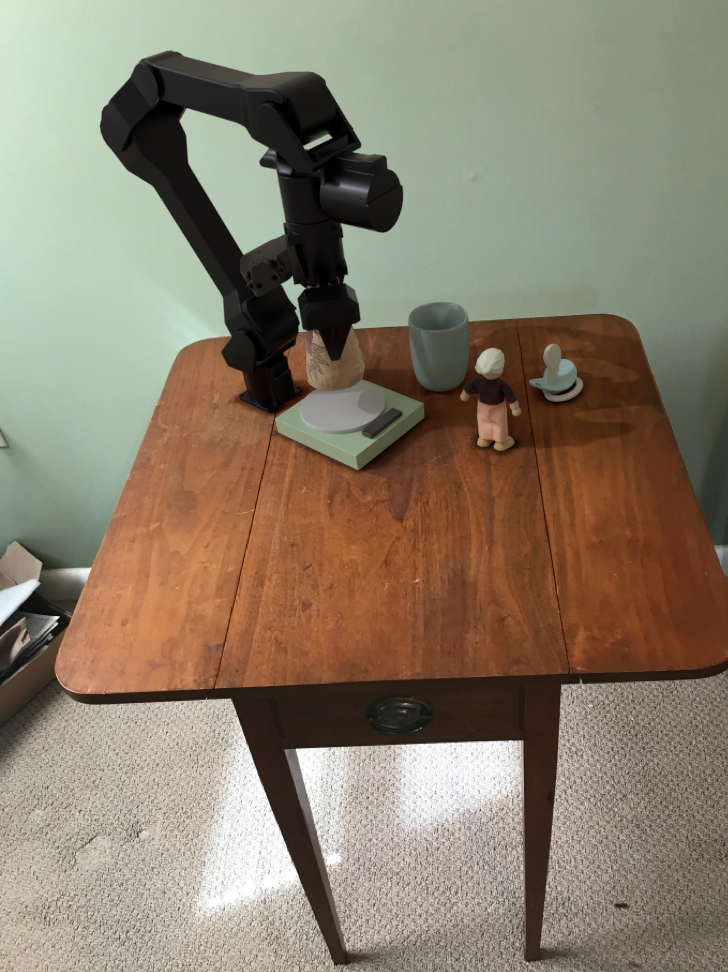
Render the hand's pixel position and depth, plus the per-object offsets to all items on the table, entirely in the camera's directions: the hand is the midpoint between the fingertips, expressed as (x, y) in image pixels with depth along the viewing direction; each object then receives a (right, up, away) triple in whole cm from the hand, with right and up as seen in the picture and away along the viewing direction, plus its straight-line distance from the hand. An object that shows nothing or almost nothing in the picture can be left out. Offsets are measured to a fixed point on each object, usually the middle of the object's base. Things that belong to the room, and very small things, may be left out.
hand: (331, 345), depth 92 cm
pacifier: (+29, -4, +10) cm, 31 cm away
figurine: (0, -3, +3) cm, 5 cm away
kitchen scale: (+2, -8, +8) cm, 11 cm away
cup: (+14, -2, +13) cm, 19 cm away
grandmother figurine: (+19, -11, +3) cm, 23 cm away
